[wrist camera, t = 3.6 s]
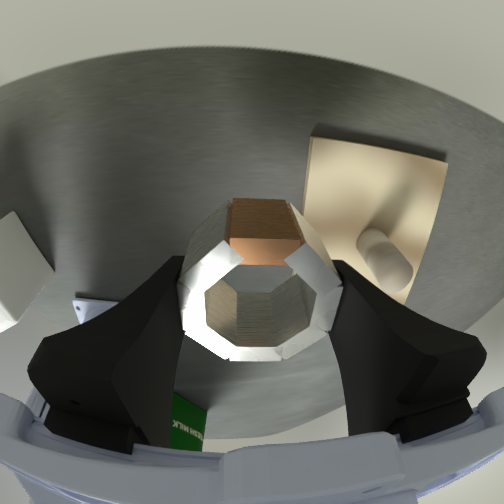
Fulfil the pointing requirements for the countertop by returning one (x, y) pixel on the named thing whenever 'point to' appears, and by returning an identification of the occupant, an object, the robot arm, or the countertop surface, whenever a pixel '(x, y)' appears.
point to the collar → (257, 304)
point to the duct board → (373, 208)
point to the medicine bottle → (19, 271)
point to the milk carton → (186, 425)
